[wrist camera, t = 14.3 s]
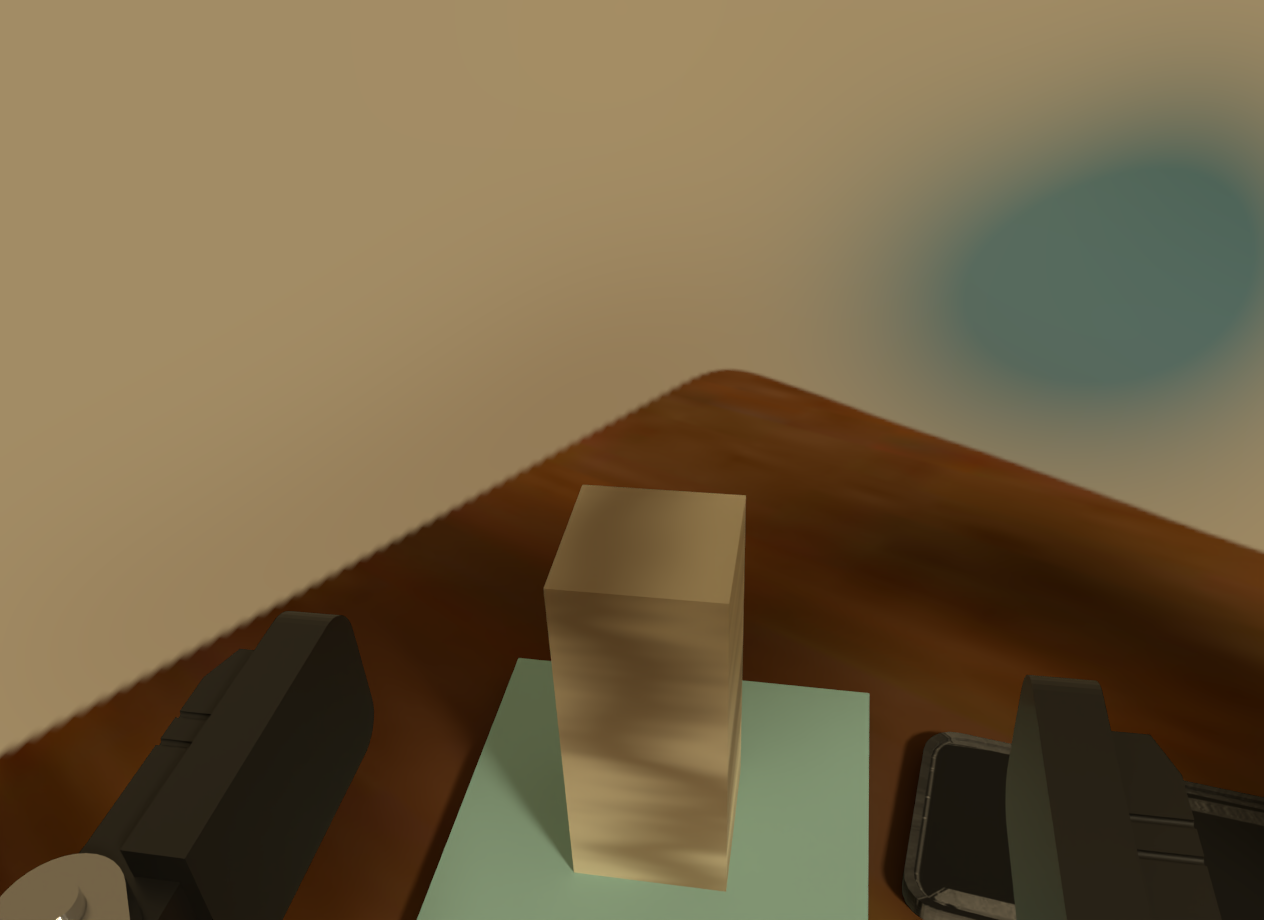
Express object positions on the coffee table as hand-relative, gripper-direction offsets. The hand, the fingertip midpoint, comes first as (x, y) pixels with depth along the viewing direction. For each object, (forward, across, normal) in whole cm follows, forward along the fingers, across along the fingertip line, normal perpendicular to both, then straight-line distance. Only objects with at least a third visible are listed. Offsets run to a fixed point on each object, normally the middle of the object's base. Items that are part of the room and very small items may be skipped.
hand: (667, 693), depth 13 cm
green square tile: (+15, +4, +23) cm, 27 cm away
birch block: (+15, +4, +22) cm, 26 cm away
